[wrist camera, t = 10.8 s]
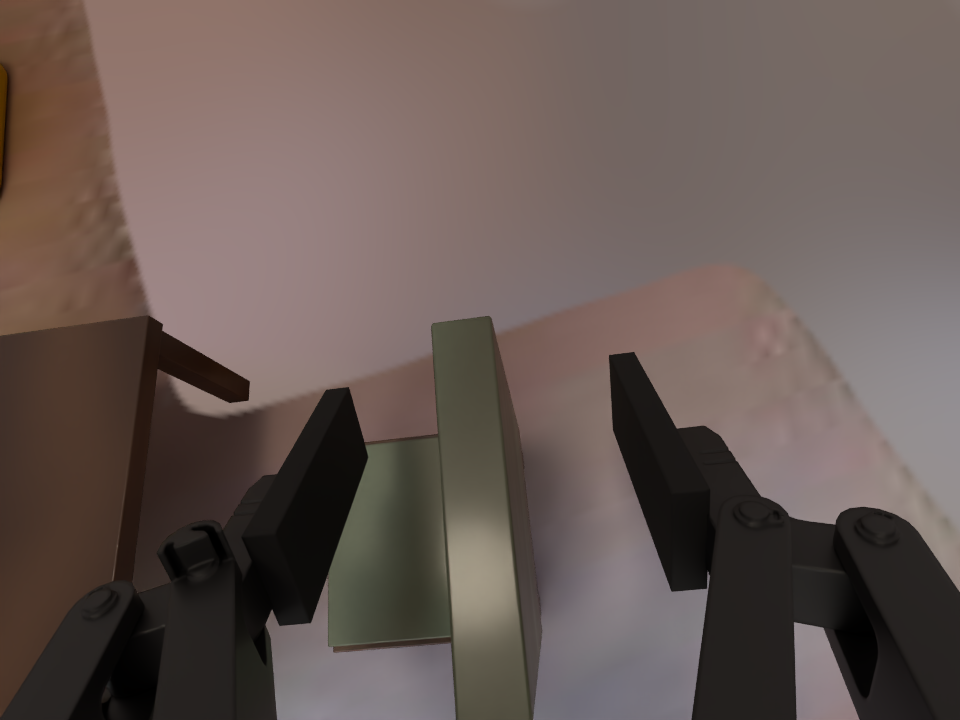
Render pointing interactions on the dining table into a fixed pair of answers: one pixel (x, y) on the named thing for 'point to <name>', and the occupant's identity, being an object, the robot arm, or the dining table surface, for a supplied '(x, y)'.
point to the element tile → (2, 113)
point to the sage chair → (448, 538)
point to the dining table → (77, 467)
